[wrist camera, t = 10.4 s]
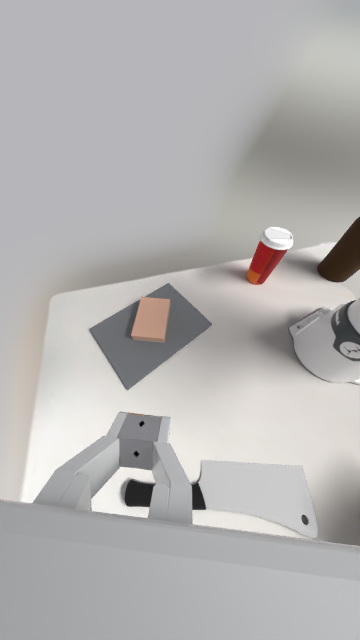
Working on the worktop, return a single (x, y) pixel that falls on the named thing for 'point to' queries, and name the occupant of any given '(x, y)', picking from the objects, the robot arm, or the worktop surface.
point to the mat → (145, 356)
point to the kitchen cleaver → (246, 493)
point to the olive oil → (343, 256)
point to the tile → (151, 320)
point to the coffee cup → (269, 253)
